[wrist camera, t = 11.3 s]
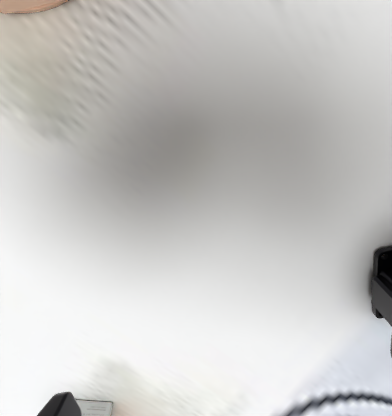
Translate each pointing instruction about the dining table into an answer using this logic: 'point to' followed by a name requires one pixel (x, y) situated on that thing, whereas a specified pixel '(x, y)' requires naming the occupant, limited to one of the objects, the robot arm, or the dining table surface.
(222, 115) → the dining table surface
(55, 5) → the ring dish
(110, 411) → the skincare box
